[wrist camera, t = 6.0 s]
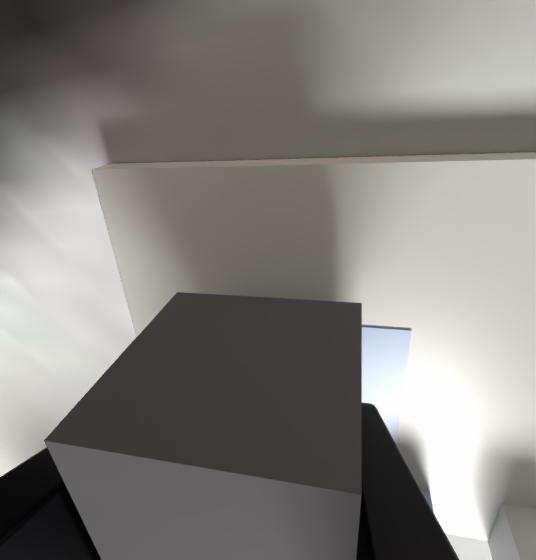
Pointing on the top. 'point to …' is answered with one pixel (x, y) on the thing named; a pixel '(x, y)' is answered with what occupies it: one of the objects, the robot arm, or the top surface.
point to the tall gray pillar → (224, 434)
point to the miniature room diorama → (374, 295)
